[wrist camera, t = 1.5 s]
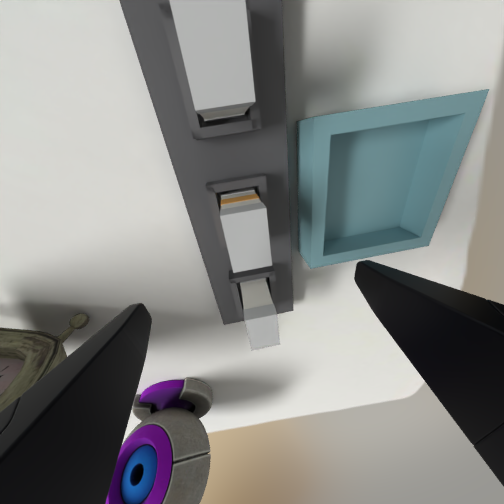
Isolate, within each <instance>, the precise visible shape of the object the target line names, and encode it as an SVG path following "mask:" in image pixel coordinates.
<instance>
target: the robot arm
mask: <svg viewBox="0 0 504 504" xmlns="http://www.w3.org/2000/svg"><path fill="white" fill-rule="evenodd" d="M354 278H355V282H356V284H357V286H358V287H359V289H360V291H361V292H362V294H363V296H364V297H365V299H366V301H367V302H368V304H369V306H370V307H371V309H372V310H373V312H374V313H375V315H376V316H377V318H378V319H379V320H380V322H381V323H382V324H383V326H384V327H385V328H386V330H387V331H388V332H389V334H390V335H391V336H392V338H393V339H394V340H395V342H396V343H397V344H398V346H399V347H400V348H401V350H402V351H403V352H404V354H405V355H406V356H407V358H408V359H409V360H410V362H411V363H412V364H413V366H414V367H415V368H416V370H417V371H418V372H419V374H420V375H421V376H422V378H423V379H424V380H425V382H426V383H427V384H428V386H429V387H430V388H431V390H432V391H433V392H434V394H435V395H436V396H437V398H438V399H439V401H440V402H441V403H442V404H443V406H444V407H445V409H446V410H447V411H448V413H449V414H450V415H451V417H452V418H453V419H454V421H455V422H456V423H457V425H458V426H459V427H460V429H461V430H462V431H463V433H464V434H465V435H466V437H467V438H468V439H469V441H470V442H471V443H472V444H473V445H474V448H475V449H476V450H477V452H478V453H479V454H480V456H481V457H482V458H483V460H484V461H485V462H486V464H487V465H488V466H489V467H490V469H491V470H492V471H493V473H494V474H495V476H496V477H497V478H498V480H499V481H500V482H501V484H502V485H503V486H504V305H503V304H499V303H497V302H494V301H491V300H486V299H485V298H482V297H479V296H476V295H473V294H469V293H467V292H464V291H461V290H458V289H454V288H451V287H448V286H445V285H442V284H439V283H436V282H433V281H430V280H427V279H424V278H421V277H418V276H415V275H412V274H409V273H406V272H403V271H400V270H397V269H394V268H391V267H388V266H385V265H382V264H379V263H376V262H373V261H370V260H365V261H360V262H358V263H357V266H356V271H355V277H354ZM151 323H152V319H151V316H150V314H149V312H148V311H147V309H146V307H145V306H144V304H142V303H138V304H133V305H130V306H129V307H128V308H126V309H125V310H124V311H123V312H121V313H120V314H119V315H118V316H117V317H115V318H114V319H113V320H112V321H111V322H109V323H108V324H107V325H106V326H104V327H103V328H102V329H101V330H100V331H98V332H97V333H96V334H95V335H93V336H92V337H91V338H90V339H89V340H87V341H86V342H85V343H84V344H83V345H81V346H80V347H79V348H78V349H76V350H75V351H74V352H73V353H72V354H70V355H69V356H68V357H67V358H66V359H64V360H63V361H62V362H61V363H59V364H58V365H57V366H56V367H55V368H53V369H52V370H51V371H50V372H48V373H47V374H46V375H45V376H44V377H42V378H41V379H40V380H39V381H38V382H36V383H35V384H34V385H33V386H31V387H30V388H29V389H28V390H27V391H25V392H24V393H23V394H22V396H21V397H18V398H17V399H16V400H14V401H13V402H12V403H11V404H9V405H8V406H7V407H6V408H5V409H3V410H2V411H1V412H0V504H105V503H106V500H107V496H108V492H109V489H110V485H111V482H112V478H113V474H114V471H115V467H116V464H117V460H118V456H119V453H120V449H121V446H122V442H123V438H124V435H125V431H126V428H127V424H128V420H129V417H130V413H131V410H132V406H133V402H134V399H135V395H136V392H137V388H138V384H139V381H140V377H141V373H142V370H143V366H144V362H145V358H146V353H147V347H148V341H149V335H150V329H151Z"/></svg>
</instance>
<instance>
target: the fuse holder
mask: <svg viewBox="0 0 504 504" xmlns="http://www.w3.org/2000/svg"><path fill="white" fill-rule="evenodd" d="M245 3H246V13H247V23H248V32H249V42H250V52H251V62H252V72H253V82H254V92H255V103H254V104H253V105H252V106H249V108H248V109H247V110H246V112H245V115H244V116H243V117H238V118H232V119H225V120H219V121H213V122H205V121H204V118H203V117H202V116H201V115H200V114H198V113H197V112H196V111H195V107H194V103H193V99H192V95H191V90H190V86H189V82H188V78H187V73H186V69H185V65H184V61H183V56H182V52H181V48H180V44H179V39H178V35H177V31H176V27H175V22H174V18H173V14H172V10H171V5H170V1H169V0H120V4H121V7H122V10H123V13H124V16H125V19H126V22H127V25H128V28H129V31H130V35H131V38H132V41H133V44H134V47H135V50H136V53H137V56H138V59H139V62H140V66H141V69H142V72H143V75H144V78H145V81H146V84H147V87H148V90H149V93H150V97H151V100H152V103H153V106H154V109H155V112H156V115H157V118H158V121H159V124H160V128H161V131H162V134H163V137H164V140H165V143H166V146H167V149H168V152H169V155H170V159H171V162H172V165H173V168H174V171H175V174H176V177H177V180H178V183H179V186H180V190H181V193H182V196H183V199H184V202H185V205H186V208H187V211H188V214H189V217H190V221H191V224H192V227H193V230H194V233H195V236H196V239H197V242H198V245H199V248H200V252H201V255H202V258H203V261H204V264H205V267H206V270H207V273H208V276H209V279H210V283H211V286H212V289H213V292H214V295H215V298H216V301H217V304H218V307H219V310H220V314H221V317H222V320H223V323H224V325H225V324H230V323H235V322H240V321H245V320H244V312H243V310H244V307H243V299H242V291H241V286H240V282H245V281H250V280H255V279H260V278H266V283H267V286H268V289H269V292H270V295H271V299H272V302H273V304H274V306H275V309H276V312H277V314H279V313H284V312H289V311H293V287H292V260H291V233H290V206H289V179H288V152H287V125H286V99H285V72H284V45H283V18H282V0H245ZM248 187H253V189H254V191H255V193H256V194H257V195H258V197H259V199H260V201H261V202H263V204H264V205H265V207H266V210H267V220H268V229H269V239H270V249H271V259H272V266H267V267H262V268H257V269H251V270H246V271H241V272H236V273H233V269H232V265H231V261H230V256H229V252H228V248H227V244H226V239H225V235H224V231H223V227H222V222H221V218H220V210H221V192H225V191H231V190H237V189H243V188H248Z"/></svg>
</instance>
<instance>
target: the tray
mask: <svg viewBox="0 0 504 504" xmlns="http://www.w3.org/2000/svg"><path fill="white" fill-rule="evenodd" d="M488 91H489V89H487V90H480V91H474V92H468V93H461V94H455V95H449V96H442V97H436V98H430V99H424V100H417V101H411V102H405V103H398V104H392V105H386V106H379V107H373V108H367V109H360V110H354V111H348V112H341V113H335V114H329V115H322V116H316V117H312V118H308V119H304V120H301V121H297V182H298V251H299V253H300V254H301V256H302V257H303V258H304V260H305V261H306V263H307V264H308V266H309V267H310V269H312V268H317V267H322V266H327V265H332V264H337V263H342V262H347V261H353V260H358V259H363V258H368V257H373V256H378V255H383V254H389V253H394V252H399V251H404V250H409V249H414V248H419V247H424V246H429V243H430V241H431V238H432V236H433V233H434V230H435V228H436V225H437V223H438V220H439V217H440V215H441V212H442V210H443V207H444V205H445V202H446V199H447V197H448V194H449V192H450V189H451V187H452V184H453V181H454V179H455V176H456V174H457V171H458V169H459V166H460V163H461V161H462V158H463V156H464V153H465V150H466V148H467V145H468V143H469V140H470V138H471V135H472V132H473V130H474V127H475V125H476V122H477V120H478V117H479V114H480V112H481V109H482V107H483V104H484V102H485V99H486V96H487V94H488Z"/></svg>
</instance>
